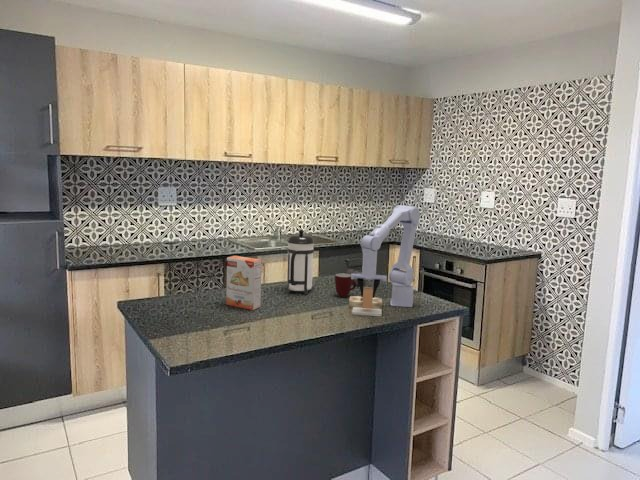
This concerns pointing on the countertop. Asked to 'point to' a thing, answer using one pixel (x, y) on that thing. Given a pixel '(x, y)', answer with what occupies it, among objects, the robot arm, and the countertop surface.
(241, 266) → the cracker box
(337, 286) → the mug
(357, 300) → the beige holed block
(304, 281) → the coffee press
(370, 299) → the plug
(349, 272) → the perforated stone tool
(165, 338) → the countertop surface
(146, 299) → the countertop surface
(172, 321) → the countertop surface
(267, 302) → the countertop surface
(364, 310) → the mat
